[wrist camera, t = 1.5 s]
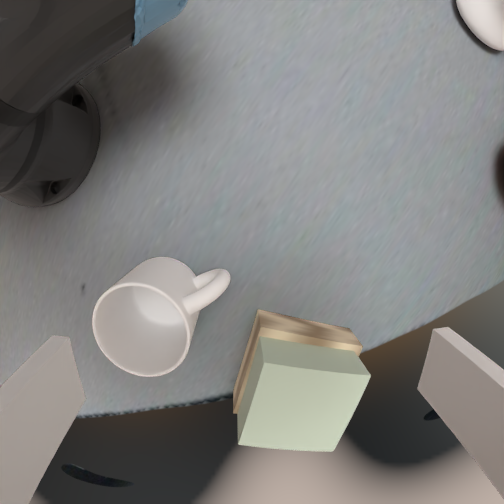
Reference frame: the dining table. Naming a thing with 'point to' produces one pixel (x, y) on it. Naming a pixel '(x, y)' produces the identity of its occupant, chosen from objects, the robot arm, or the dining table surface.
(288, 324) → the tower base
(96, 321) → the mug
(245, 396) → the tower top
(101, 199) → the dining table surface
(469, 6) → the flower in vase
